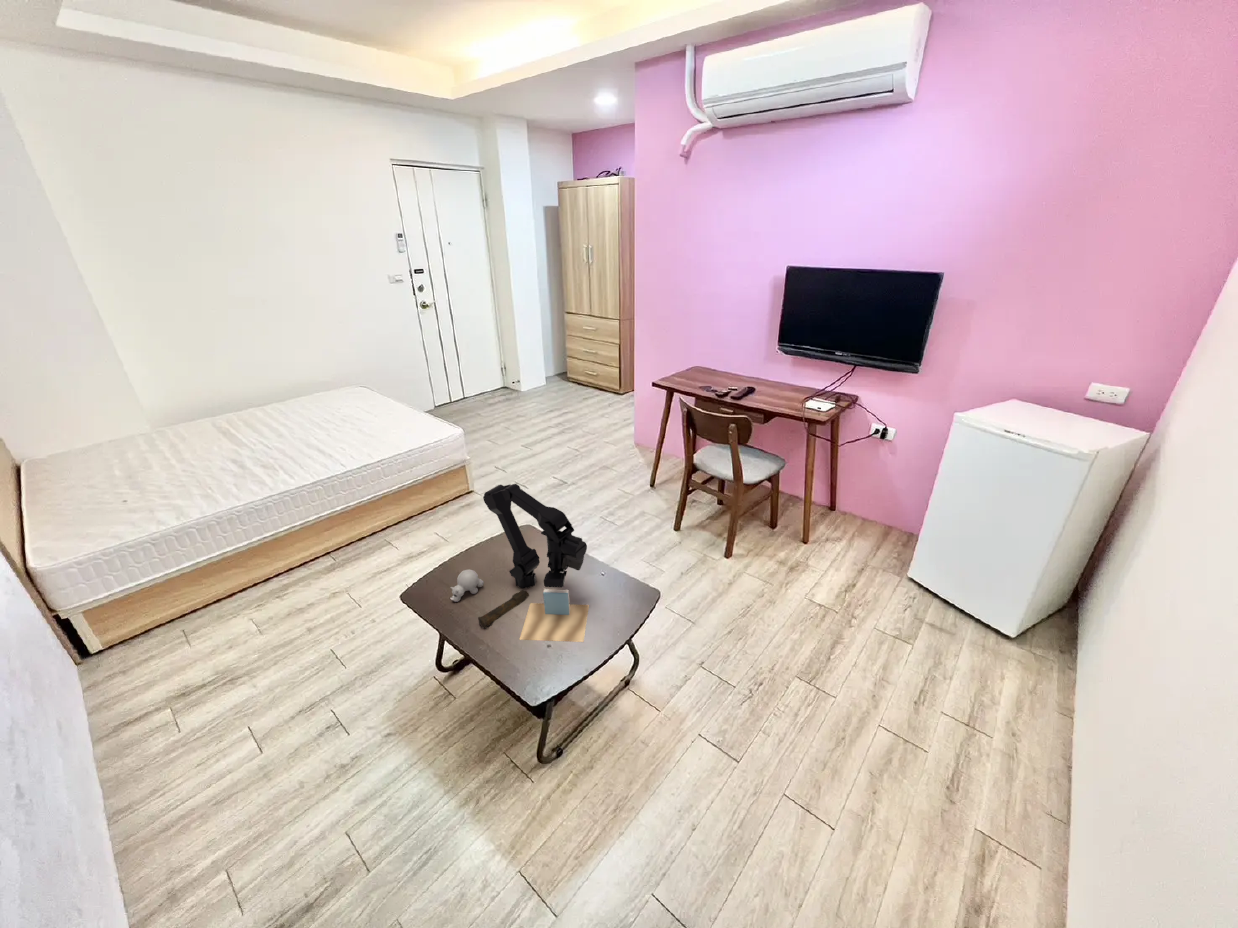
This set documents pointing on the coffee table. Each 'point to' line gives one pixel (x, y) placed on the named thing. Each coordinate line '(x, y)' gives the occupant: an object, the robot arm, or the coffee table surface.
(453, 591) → the chubby cartoon animal
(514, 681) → the coffee table surface
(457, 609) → the coffee table surface
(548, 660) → the coffee table surface
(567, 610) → the tile
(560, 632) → the board
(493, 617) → the hand tool
